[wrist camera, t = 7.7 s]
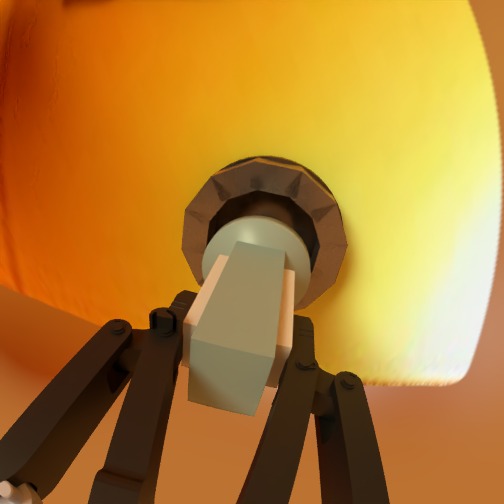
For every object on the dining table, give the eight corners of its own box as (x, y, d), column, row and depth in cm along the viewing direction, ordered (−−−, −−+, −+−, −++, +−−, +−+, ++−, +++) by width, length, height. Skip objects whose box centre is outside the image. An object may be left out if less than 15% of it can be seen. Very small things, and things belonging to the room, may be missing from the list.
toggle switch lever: (202, 296, 22) (148, 404, 12) (213, 205, 19) (138, 289, 9) (295, 317, 21) (288, 438, 12) (322, 228, 18) (343, 337, 9)
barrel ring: (187, 278, 29) (175, 297, 26) (202, 143, 23) (189, 146, 20) (318, 308, 28) (319, 329, 25) (359, 176, 22) (368, 184, 19)
